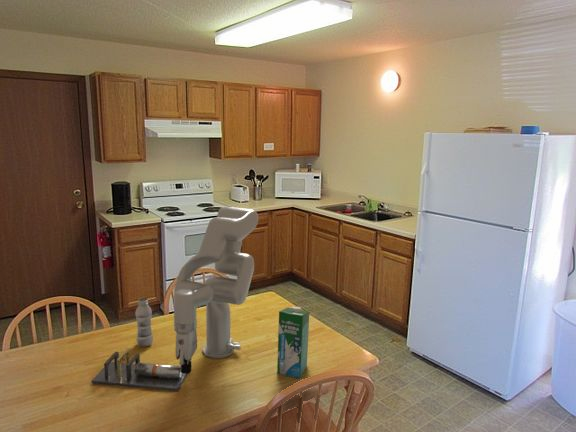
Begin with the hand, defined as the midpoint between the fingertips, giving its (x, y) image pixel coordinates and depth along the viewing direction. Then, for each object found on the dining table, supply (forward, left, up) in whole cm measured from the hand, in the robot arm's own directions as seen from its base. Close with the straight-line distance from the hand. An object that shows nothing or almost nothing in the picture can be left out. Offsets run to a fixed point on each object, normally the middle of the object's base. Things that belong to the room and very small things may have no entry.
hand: (186, 372), depth 149 cm
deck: (+17, 0, -4) cm, 17 cm away
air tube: (+10, 0, -2) cm, 10 cm away
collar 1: (+28, 0, -3) cm, 28 cm away
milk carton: (-37, -13, -4) cm, 39 cm away
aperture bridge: (+23, 0, -3) cm, 23 cm away
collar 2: (+20, 0, -3) cm, 20 cm away
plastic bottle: (+25, -22, -4) cm, 34 cm away
